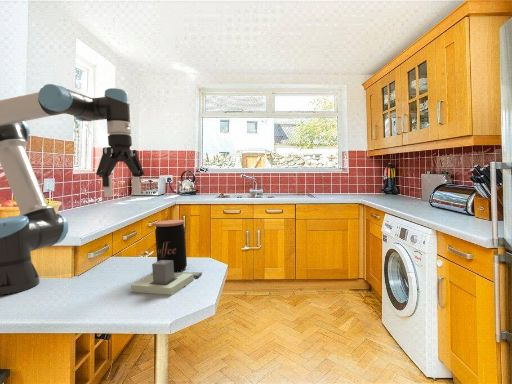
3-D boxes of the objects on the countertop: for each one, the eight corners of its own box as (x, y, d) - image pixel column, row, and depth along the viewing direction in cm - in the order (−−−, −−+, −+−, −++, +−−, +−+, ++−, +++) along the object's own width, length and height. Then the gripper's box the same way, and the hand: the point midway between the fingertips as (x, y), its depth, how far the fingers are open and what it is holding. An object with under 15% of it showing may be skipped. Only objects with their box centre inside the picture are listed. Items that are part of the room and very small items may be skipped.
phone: (178, 278, 100) (178, 275, 100) (182, 274, 104) (182, 272, 104) (198, 277, 99) (198, 275, 99) (201, 274, 103) (201, 272, 103)
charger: (153, 289, 91) (152, 263, 90) (162, 284, 95) (161, 259, 94) (166, 290, 89) (164, 264, 89) (174, 285, 93) (173, 260, 93)
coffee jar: (151, 272, 108) (148, 223, 108) (172, 264, 118) (169, 219, 117) (173, 275, 103) (170, 224, 103) (193, 266, 113) (190, 220, 112)
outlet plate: (131, 291, 90) (131, 284, 90) (157, 277, 102) (157, 271, 102) (171, 294, 86) (171, 287, 85) (193, 279, 98) (193, 273, 98)
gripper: (99, 128, 90) (104, 197, 91) (151, 138, 114) (154, 193, 115) (80, 131, 93) (85, 198, 94) (135, 139, 116) (138, 193, 117)
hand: (123, 195), depth 104 cm, fingers open, 13 cm apart
